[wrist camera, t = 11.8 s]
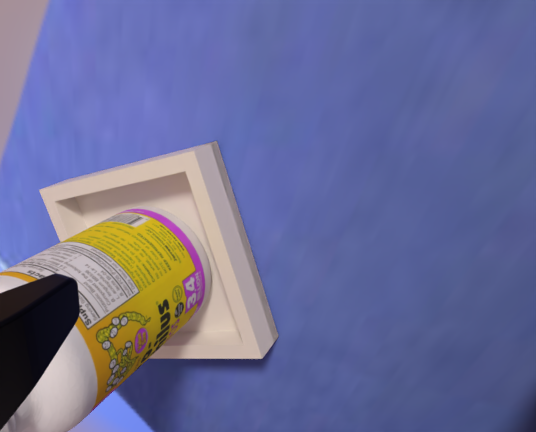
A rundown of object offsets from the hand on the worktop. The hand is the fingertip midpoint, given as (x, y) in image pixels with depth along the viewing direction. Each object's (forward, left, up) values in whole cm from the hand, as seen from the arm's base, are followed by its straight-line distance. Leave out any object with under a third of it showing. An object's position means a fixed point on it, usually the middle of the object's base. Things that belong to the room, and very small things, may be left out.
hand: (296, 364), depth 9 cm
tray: (-2, +14, -13) cm, 19 cm away
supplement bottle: (-2, +14, -13) cm, 19 cm away
